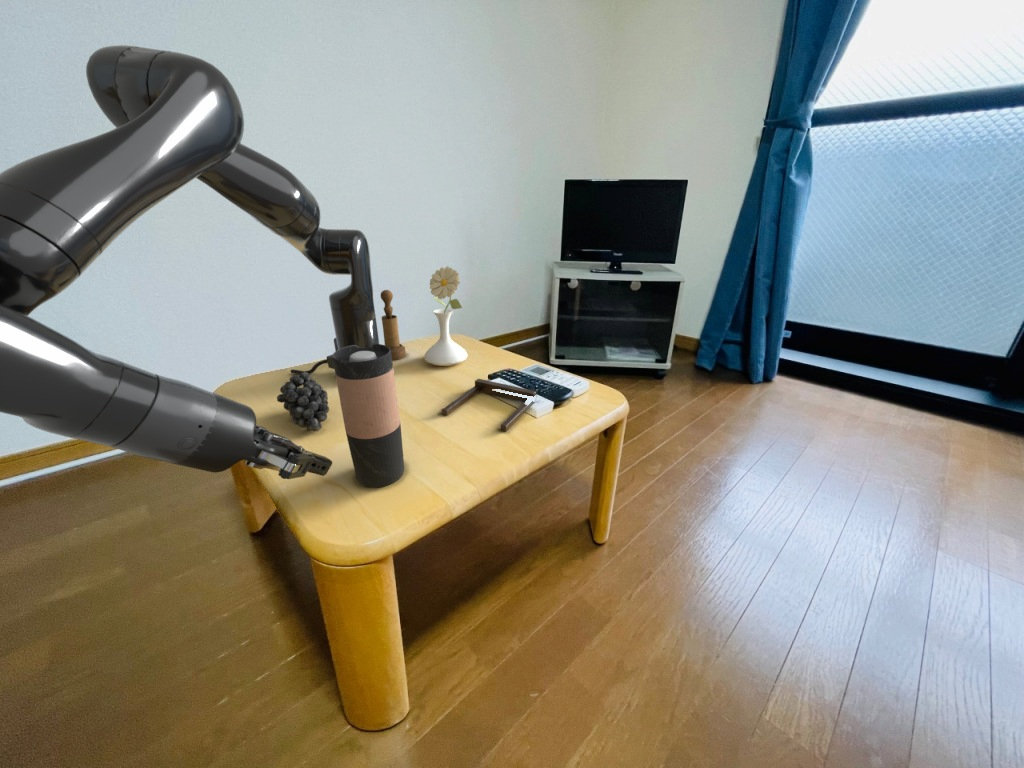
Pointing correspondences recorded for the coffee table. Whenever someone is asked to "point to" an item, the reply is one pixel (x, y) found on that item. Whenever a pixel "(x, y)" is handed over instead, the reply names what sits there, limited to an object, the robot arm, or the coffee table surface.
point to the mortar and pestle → (391, 328)
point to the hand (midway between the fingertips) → (326, 466)
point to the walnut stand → (487, 388)
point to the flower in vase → (445, 319)
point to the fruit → (305, 401)
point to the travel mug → (370, 413)
